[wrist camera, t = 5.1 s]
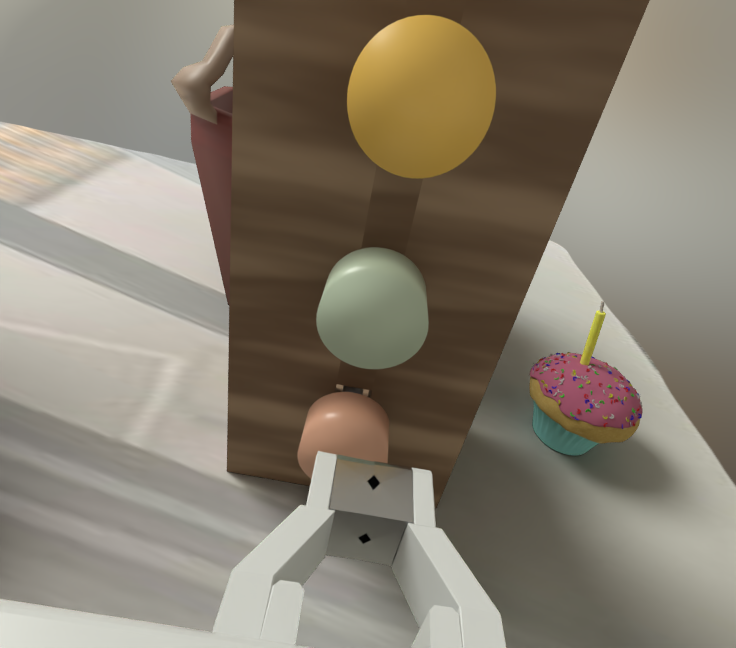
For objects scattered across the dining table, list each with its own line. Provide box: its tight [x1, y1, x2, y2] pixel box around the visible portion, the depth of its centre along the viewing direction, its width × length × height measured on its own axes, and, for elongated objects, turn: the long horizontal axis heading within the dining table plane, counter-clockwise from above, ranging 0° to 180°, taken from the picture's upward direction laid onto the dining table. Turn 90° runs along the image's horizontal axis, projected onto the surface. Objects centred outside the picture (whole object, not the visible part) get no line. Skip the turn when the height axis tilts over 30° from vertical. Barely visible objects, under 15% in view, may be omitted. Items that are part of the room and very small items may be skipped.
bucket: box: [171, 25, 234, 305], centre depth 44 cm, size 24×22×25 cm
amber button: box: [347, 15, 496, 178], centre depth 16 cm, size 6×4×4 cm
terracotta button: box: [297, 385, 389, 479], centre depth 25 cm, size 6×4×4 cm
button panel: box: [227, 0, 649, 508], centre depth 26 cm, size 9×14×30 cm, turn 86°
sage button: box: [316, 247, 429, 369], centre depth 21 cm, size 6×4×4 cm
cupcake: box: [530, 301, 642, 455], centre depth 36 cm, size 9×8×12 cm
